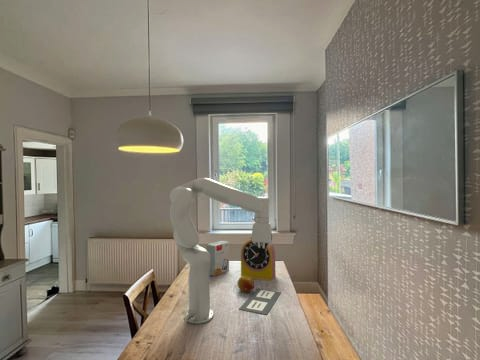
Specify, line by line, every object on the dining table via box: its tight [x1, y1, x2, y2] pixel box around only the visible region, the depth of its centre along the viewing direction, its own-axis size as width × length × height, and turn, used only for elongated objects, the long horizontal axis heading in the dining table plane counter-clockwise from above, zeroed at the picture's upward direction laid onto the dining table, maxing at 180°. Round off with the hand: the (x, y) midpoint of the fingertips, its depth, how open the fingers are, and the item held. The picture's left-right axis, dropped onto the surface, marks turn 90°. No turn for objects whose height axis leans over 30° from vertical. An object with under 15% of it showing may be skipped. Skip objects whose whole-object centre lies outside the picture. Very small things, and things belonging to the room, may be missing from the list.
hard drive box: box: [206, 240, 230, 277], centre depth 177 cm, size 16×8×20 cm, turn 143°
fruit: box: [237, 275, 255, 293], centre depth 146 cm, size 10×9×8 cm
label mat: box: [238, 288, 282, 316], centre depth 134 cm, size 26×14×1 cm, turn 157°
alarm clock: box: [240, 236, 277, 281], centre depth 168 cm, size 21×9×26 cm, turn 67°
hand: (262, 255), depth 136 cm, fingers closed
